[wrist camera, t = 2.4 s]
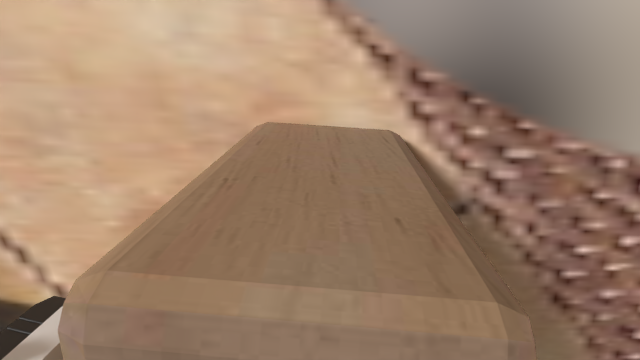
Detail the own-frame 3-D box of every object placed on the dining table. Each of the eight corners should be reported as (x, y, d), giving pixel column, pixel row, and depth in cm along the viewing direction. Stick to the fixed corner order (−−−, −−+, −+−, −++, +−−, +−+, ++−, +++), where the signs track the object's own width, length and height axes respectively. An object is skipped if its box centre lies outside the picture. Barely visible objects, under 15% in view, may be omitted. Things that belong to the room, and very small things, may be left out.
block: (402, 128, 26) (577, 343, 7) (385, 258, 29) (470, 654, 10) (256, 118, 26) (21, 296, 7) (255, 248, 29) (94, 611, 10)
